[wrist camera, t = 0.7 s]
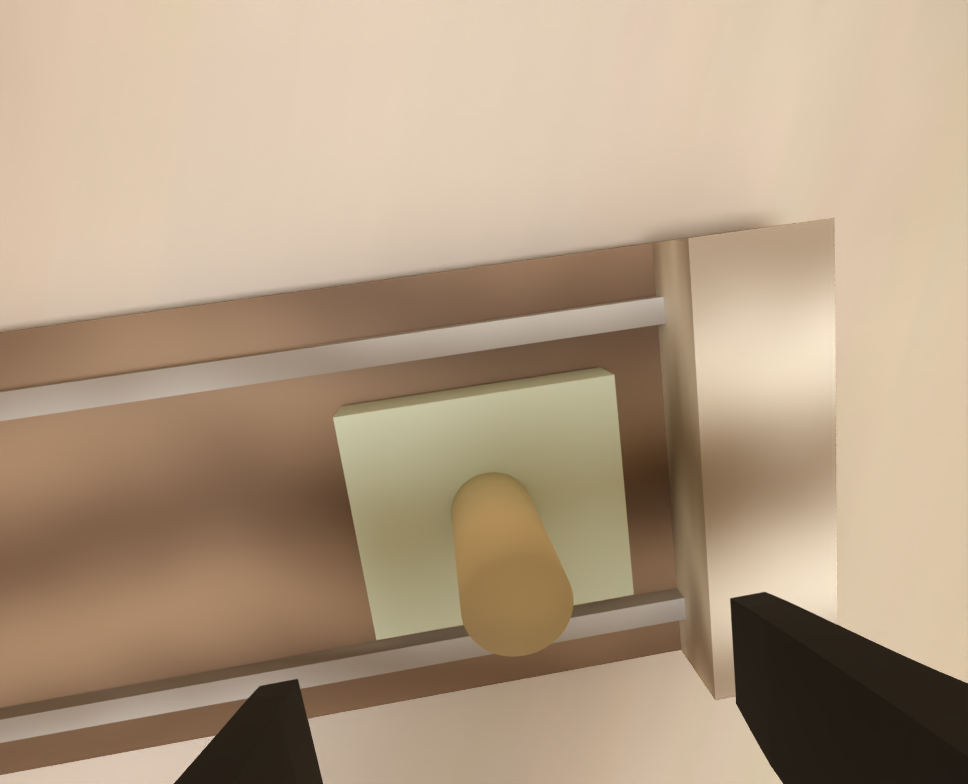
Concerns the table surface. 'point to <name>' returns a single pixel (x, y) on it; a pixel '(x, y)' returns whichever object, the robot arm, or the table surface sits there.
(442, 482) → the carriage
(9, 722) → the rail
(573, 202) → the table surface
